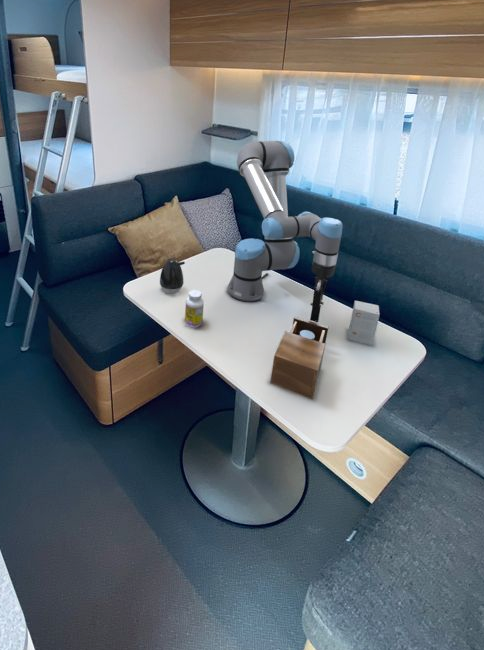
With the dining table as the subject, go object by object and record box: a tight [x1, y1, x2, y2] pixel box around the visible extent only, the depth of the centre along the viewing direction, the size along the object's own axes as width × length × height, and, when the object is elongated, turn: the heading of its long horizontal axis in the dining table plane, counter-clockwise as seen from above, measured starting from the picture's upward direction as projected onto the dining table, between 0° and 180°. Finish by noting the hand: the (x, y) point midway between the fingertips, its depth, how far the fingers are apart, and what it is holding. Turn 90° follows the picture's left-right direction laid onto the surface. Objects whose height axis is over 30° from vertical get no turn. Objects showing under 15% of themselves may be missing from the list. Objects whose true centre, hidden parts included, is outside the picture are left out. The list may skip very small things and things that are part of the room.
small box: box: [348, 300, 380, 346], centre depth 146 cm, size 8×6×13 cm
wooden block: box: [269, 330, 326, 400], centre depth 127 cm, size 14×13×11 cm
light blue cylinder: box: [299, 330, 315, 340], centre depth 137 cm, size 5×5×6 cm
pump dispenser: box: [159, 257, 186, 294], centre depth 173 cm, size 10×10×15 cm
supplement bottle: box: [184, 289, 205, 328], centre depth 152 cm, size 7×7×13 cm
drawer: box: [289, 316, 329, 345], centre depth 138 cm, size 17×11×9 cm
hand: (314, 320), depth 149 cm, fingers closed
